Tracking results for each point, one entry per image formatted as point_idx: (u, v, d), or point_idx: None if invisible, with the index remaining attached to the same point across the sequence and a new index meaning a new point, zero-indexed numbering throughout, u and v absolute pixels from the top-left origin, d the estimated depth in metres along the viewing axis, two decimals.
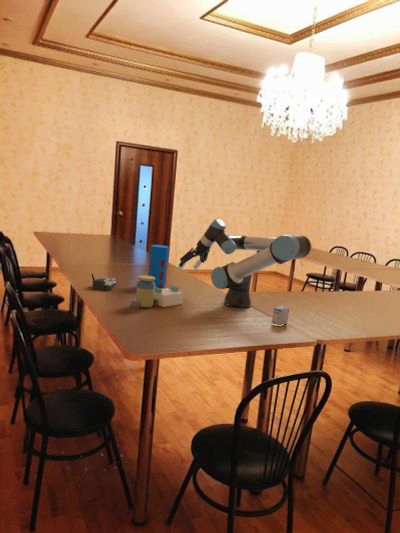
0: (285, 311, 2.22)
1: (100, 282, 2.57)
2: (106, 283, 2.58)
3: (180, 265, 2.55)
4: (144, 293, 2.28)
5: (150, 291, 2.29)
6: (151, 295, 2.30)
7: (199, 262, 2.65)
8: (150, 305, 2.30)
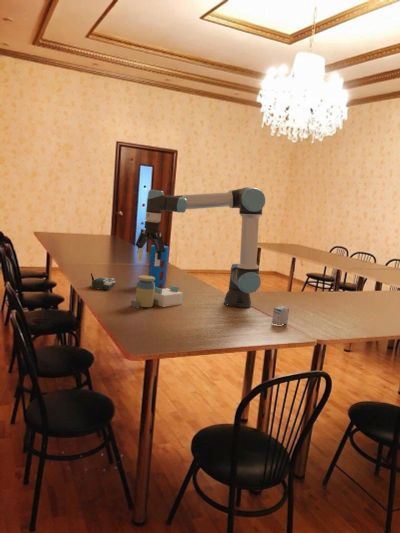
0: (285, 311, 2.22)
1: (99, 282, 2.57)
2: (105, 283, 2.58)
3: (160, 258, 2.25)
4: (144, 293, 2.28)
5: (150, 291, 2.29)
6: (151, 295, 2.30)
7: (141, 250, 2.35)
8: (150, 305, 2.30)
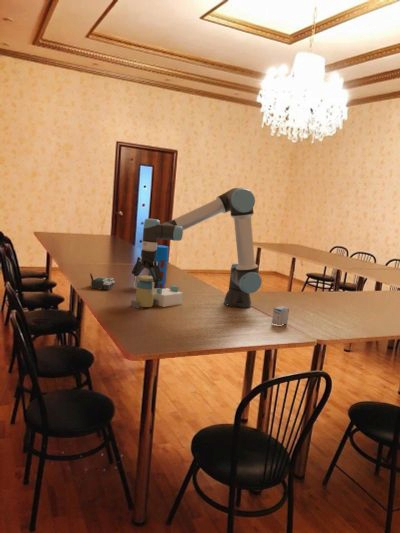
0: (285, 311, 2.22)
1: (99, 282, 2.57)
2: (105, 283, 2.58)
3: (157, 286, 2.26)
4: (144, 293, 2.28)
5: (149, 291, 2.29)
6: (151, 295, 2.30)
7: None
8: (150, 305, 2.30)
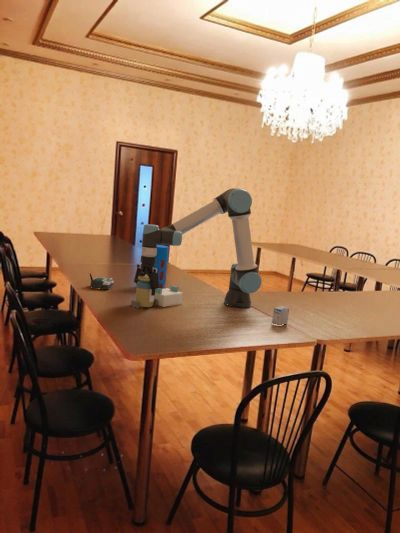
0: (285, 311, 2.22)
1: (98, 282, 2.57)
2: (104, 283, 2.58)
3: (154, 293, 2.28)
4: (143, 293, 2.28)
5: (149, 291, 2.29)
6: None
7: None
8: (150, 305, 2.30)
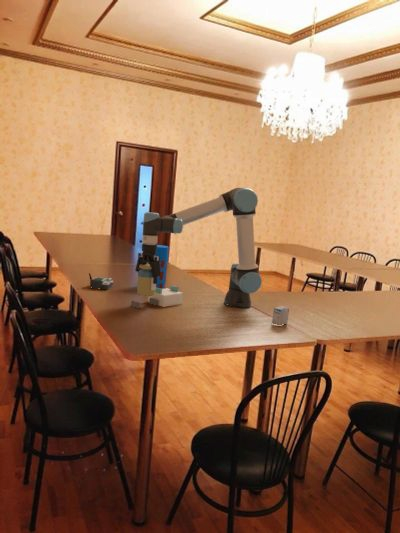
0: (285, 311, 2.22)
1: (98, 282, 2.58)
2: (104, 283, 2.59)
3: (156, 282, 2.27)
4: (145, 281, 2.27)
5: None
6: None
7: None
8: (152, 293, 2.29)
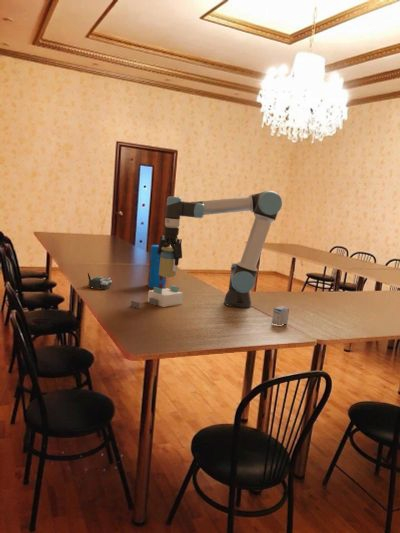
0: (285, 311, 2.22)
1: (96, 281, 2.58)
2: (102, 282, 2.59)
3: None
4: (167, 263, 2.36)
5: None
6: None
7: None
8: (173, 275, 2.39)
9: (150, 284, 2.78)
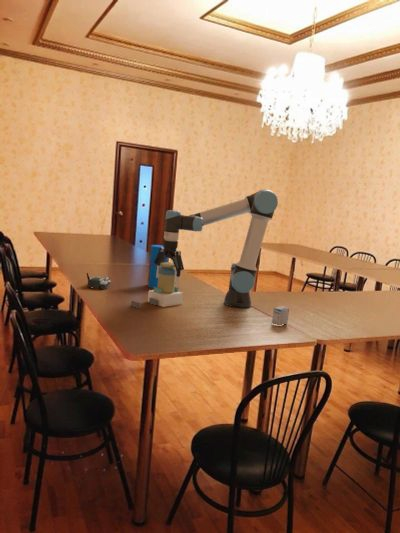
0: (285, 311, 2.22)
1: (95, 281, 2.58)
2: (101, 282, 2.59)
3: (179, 275, 2.36)
4: (166, 279, 2.38)
5: (171, 277, 2.39)
6: (172, 281, 2.40)
7: (160, 267, 2.46)
8: (171, 291, 2.40)
9: (150, 284, 2.78)
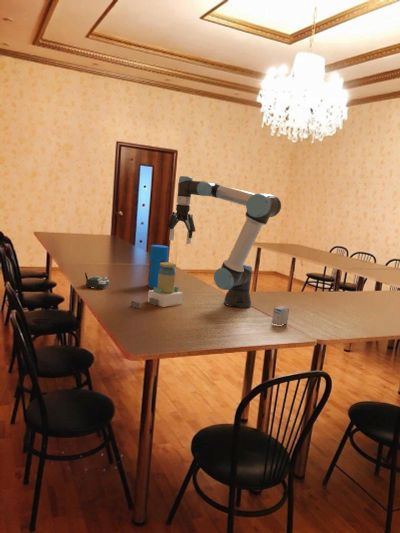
0: (285, 311, 2.22)
1: (94, 281, 2.58)
2: (100, 282, 2.59)
3: (191, 236, 2.54)
4: (166, 279, 2.38)
5: (171, 277, 2.39)
6: (172, 281, 2.40)
7: (173, 230, 2.63)
8: (171, 291, 2.40)
9: (150, 284, 2.78)
